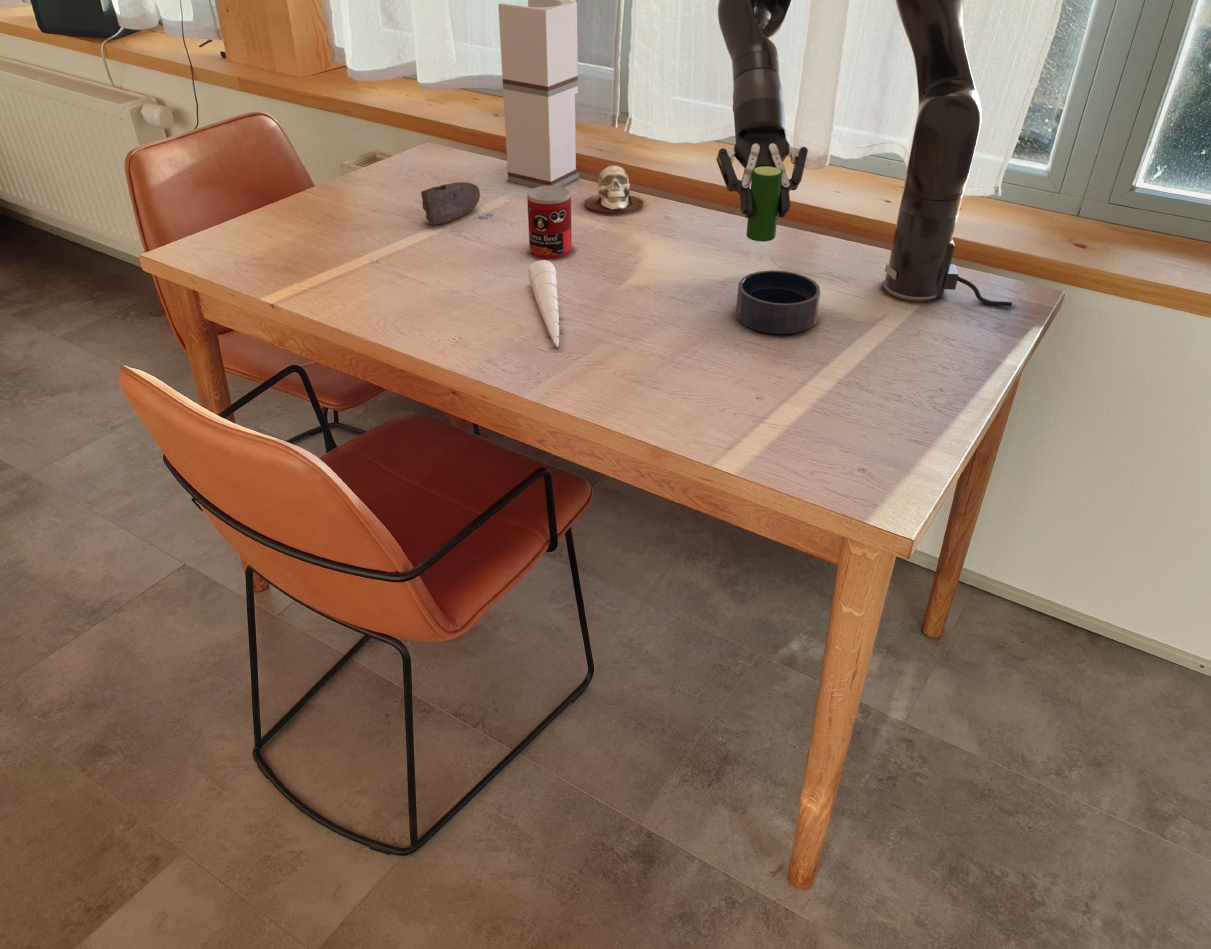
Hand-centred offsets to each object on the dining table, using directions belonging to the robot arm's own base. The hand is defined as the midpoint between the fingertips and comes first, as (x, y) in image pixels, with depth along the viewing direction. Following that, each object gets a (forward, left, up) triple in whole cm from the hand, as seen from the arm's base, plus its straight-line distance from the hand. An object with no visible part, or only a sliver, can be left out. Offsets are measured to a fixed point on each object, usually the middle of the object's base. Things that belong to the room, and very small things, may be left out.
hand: (766, 214), depth 139 cm
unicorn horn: (+33, 0, -18) cm, 38 cm away
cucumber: (0, -2, -4) cm, 4 cm away
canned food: (+37, -25, -18) cm, 48 cm away
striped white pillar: (+45, -64, -18) cm, 80 cm away
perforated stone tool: (+59, -39, -18) cm, 73 cm away
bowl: (-3, -2, -18) cm, 18 cm away
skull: (+28, -50, -18) cm, 60 cm away
